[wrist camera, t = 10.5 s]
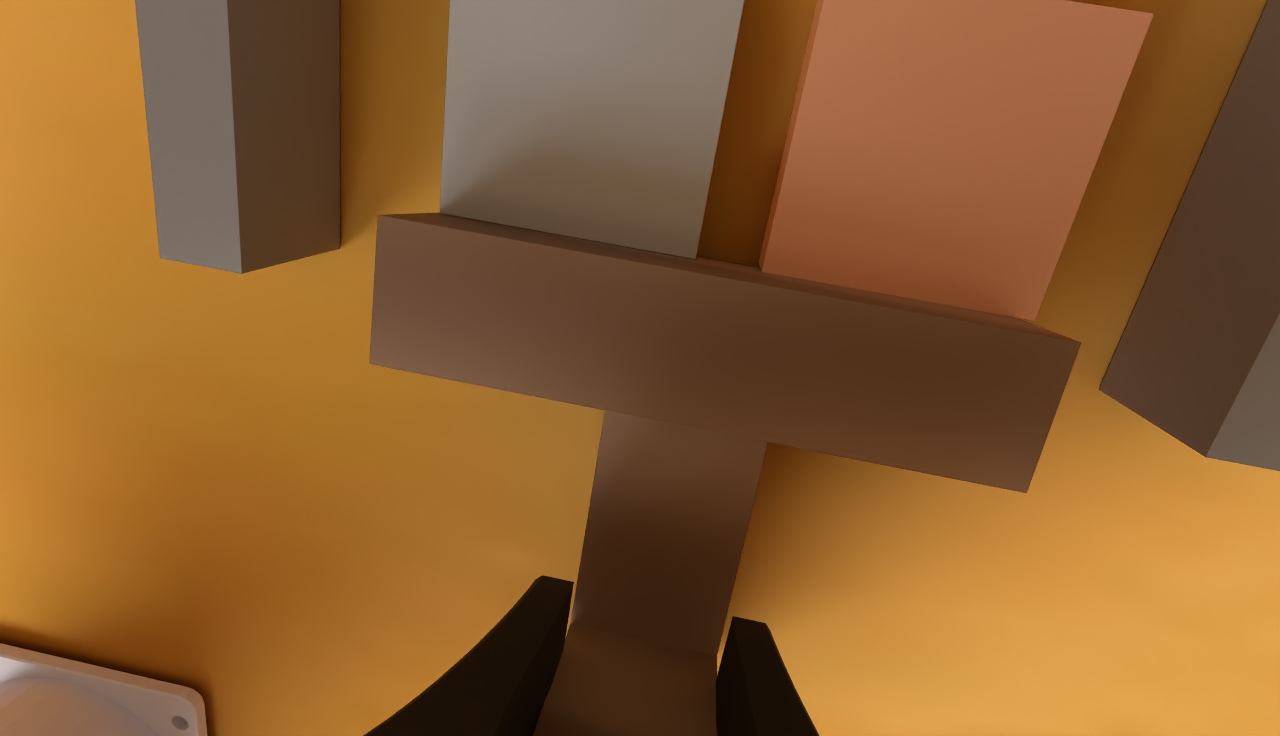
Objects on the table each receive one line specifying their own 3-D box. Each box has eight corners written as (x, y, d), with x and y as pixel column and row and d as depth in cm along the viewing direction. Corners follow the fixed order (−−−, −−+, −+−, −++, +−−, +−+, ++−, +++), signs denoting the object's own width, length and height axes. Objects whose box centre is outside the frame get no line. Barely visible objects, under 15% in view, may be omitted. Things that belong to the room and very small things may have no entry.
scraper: (857, 739, 15) (1050, 1452, 7) (414, 640, 16) (57, 1165, 7) (995, 310, 12) (1650, 558, 4) (451, 212, 13) (-58, 231, 4)
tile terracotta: (1000, 301, 13) (1034, 320, 12) (757, 258, 13) (762, 271, 12) (1100, 29, 11) (1153, 13, 10) (817, -14, 12) (831, -36, 10)
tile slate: (698, 247, 13) (695, 259, 12) (469, 206, 14) (439, 212, 12) (749, -24, 12) (752, -48, 10) (486, -63, 12) (454, -91, 11)
